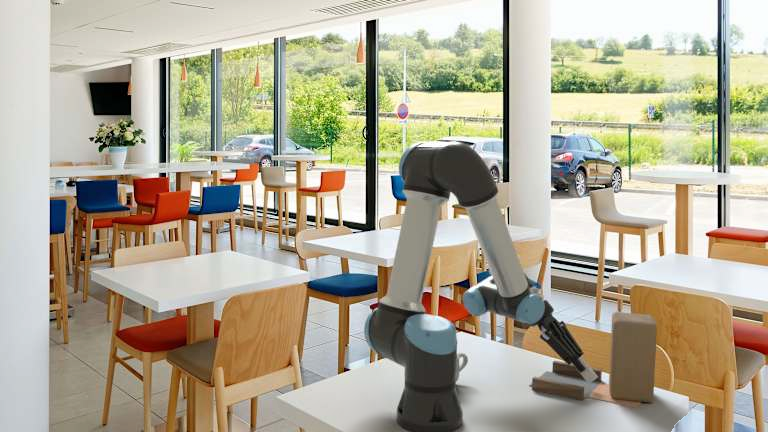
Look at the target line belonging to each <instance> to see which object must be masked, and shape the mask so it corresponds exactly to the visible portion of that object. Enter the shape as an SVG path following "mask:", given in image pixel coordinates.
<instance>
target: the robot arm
mask: <svg viewBox="0 0 768 432" xmlns="http://www.w3.org/2000/svg"><path fill="white" fill-rule="evenodd" d="M398 174H399V176H400V179H401V181H402V182H403V187H402V194H404V196H405V198H406V203H405V206H404V211H403V217H402V221H401V226H400V230H399V235H398V240H397V244H396V251H395V252H394V253H395V254H394V259H393V262H392V269H391V273H390V278H389V282H388V286H387V287H388V288H387V291H386V294H385V296H383V297H382V298H380V299H379V300H378V305H377V307H376V308H374V309H373V310H372V312H371V313H369V315H367V318H366V319H365V323H364V327H363V328H364V330H363V332H364V333H363V334H364V338H365V341H366V343H367V345H368V347H369V348H370V349H371V351H373V352H374V353H376V354H377V355H379V356H380V357H381V358H383V359H387V360H389V361H392V362H394V363H396V364H398V365H400V366H401V367H404V388H403V389H402V390H403V391H402V393H401V395H400V399H399V401H398V404H397V408H396V422H397V424H398V425H400V426H401V427H402V428H404V429H405V430H407V431H409V432H453V431H455V430H457V429H459V428H460V427H461V426H462V425H463V423H464V421H463V420H464V417H463V416H464V415H463V409H462V405H461V403H460V398H459V395H458V392H457V388H456V386H457V382H456V358H457V354H458V351H457V350H458V338H457V329H456V326H455V324H454V323H453V322H451V321H450V320H449V319H447V318H445V317H442V316H440V315H433V314H430V313H429V314H428V313H426V308H425V307H424V305H423V304H422V299H423V294H424V290H425V284H426V280H427V276H428V271H429V265H430V261H431V257H432V252H433V248H434V247H433V246H434V244H435V243H434V242H435V237H436V232H437V229H438V227H437V226H438V224H439V219H440V214H441V209H442V206H443V205H446V204H447V203H448V202H449V201H450V196H451V193H452V195H454V197H455V198H456V200H457V203H458V206H459V207H461V208H463V209H464V210H465V211H466V213H467V216H468V218H469V221H470V223H471V226H472V229H473V232H474V234H475V237H476V239H477V242H478V243H479V246H480V249H481V251H482V254H483V257H484V259H485V261H486V264H487V267H488V274H489V276H487V277H486V278H485V279H483V280H482V279H481V281H479V282H477V283H476V284H474V285H472V286H471V287H470V288H469V289H467V290H466V291H464V292H463V295H462V301H463V306H464V308H465V309H466V311H468V313H469V314H470V315H472V316H474V317H481V316H483V315H486V313H492V314H495V315H498V316H500V317H501V316H503V317H504V318H505V317H506V318H508V319H510V320H514V321H517V322H519V323H525V324H529V325H530V326H531V327H532V328H533V327H535V326H536V327H537V328H538V329H539V331H540V332H541V334H540V335H539V338H540V339H541V340H542V341H544V342H545V343H546V344H547V345H548V346H549V347H550V348H551V349H552V350H553V352H555V353H556V354H557V355H558V356H559V358H561V359H562V360H563V362H565V363H567V364H568V365H570V364H573V365H574V366H575V368H576V369H577V370H578V371H579V373H580V374H581V375H582V376H583V378H584V379H585V380H586V381H587V382H588V384H590V383H591V382H592V381H594V380H595V379H597V378H598V376H597V375H596V373H595V372H594V371H593V370H592V368H593V367H592V366H590V365H589V363H588V362H587V360H585V358H584V357H583V355H584V351H583V350H582V349H581V346H579V344H578V343H577V341H576V339H575V338H574V336H573V335H572V333H571V332H570V330H569V329H568V327H567V325H566V323H565V321H563V320H561V321H560V322H559V321H558V320H557V318H555V317H554V315H552V314H553V313H554V310H555V309H554V307H553V306H552V305H551V304H550V303H549V301H548V300H547V299H544V296H543V294H542V293H541V292H540V289H539V288H537V287H536V286H535V285H534V283H533V282H532V281H531V280H530V278H529V277H528V276H527V274H526V273H525V272H524V270H523V267H522V264H521V261H520V259H519V256H518V254H517V253H518V252H517V250H516V248H515V245H514V243H513V240H512V237H511V234H510V231H509V229H508V227H507V226H508V225H507V223H506V220H505V218H504V215H503V213H502V210H501V208H500V204H499V202H498V199H497V196H498V195H499V188H498V186H497V184H496V181H495V179H494V177H493V174H492V172H491V170H490V169H489V167H488V165H487V164H486V162H485V160H484V159H483V158H482V157H481V156H480V154H479V153H478V152H477V151H476V150H475V149H474V148H472V147H471V146H469V145H467V144H466V143H464V142H460V141H434V140H433V141H432V140H427V141H422V142H416V143H413V144H411V145H410V146H408V147H407V148H406V149H405V150H404V152H403V153H402V155H401V157H400V160H399V162H398Z"/></svg>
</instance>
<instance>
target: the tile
mask: <svg viewBox="0 0 768 432" xmlns="http://www.w3.org/2000/svg"><path fill="white" fill-rule="evenodd" d="M587 398H589V399H595V400H598V401H599V400H600V401H603V402H607V403H613V404H616V405H622V406H627V407H631V408H636V409H638V408H639V407H640V406H641V404H642V402H641V401H632V400H623V399H614V398H612V397H611V395H610V388H609V384H606V383H602V382H601V383H600V384H599V385H598V386H597V387H596V388H595V389H594V390H593V391H592V392H591V394H590V395H589V396H588V397H587Z"/></svg>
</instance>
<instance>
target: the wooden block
mask: <svg viewBox="0 0 768 432" xmlns="http://www.w3.org/2000/svg"><path fill="white" fill-rule="evenodd" d="M610 332H611V334H610V335H611V336H610V355H609V356H610V358H609V374H608V375H609V376H608V385H609V388H610V395H611V397H612V398H614V399H623V400H632V401H641V402H643V403H652V401H653V400H654V391H655V390H654V389H655V388H654V387H655V374H656V373H655V372H656V371H655V369H656V353H657V337H658V336H657V335H658V327H657V323H656V321H655V318H654V316H653V315H651V314H646V313H645V314H644V313H630V312H629V313H628V312H618V311H617V312H614V313H612V316H611V331H610Z"/></svg>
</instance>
